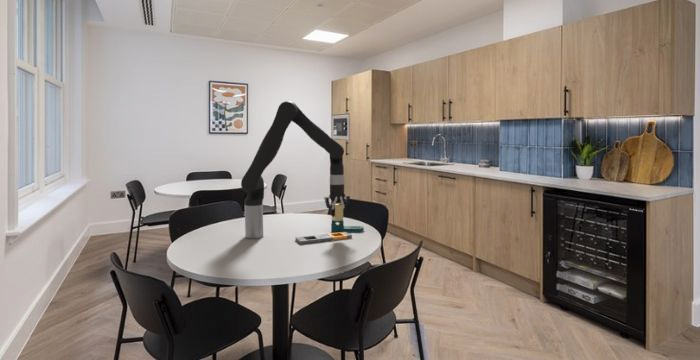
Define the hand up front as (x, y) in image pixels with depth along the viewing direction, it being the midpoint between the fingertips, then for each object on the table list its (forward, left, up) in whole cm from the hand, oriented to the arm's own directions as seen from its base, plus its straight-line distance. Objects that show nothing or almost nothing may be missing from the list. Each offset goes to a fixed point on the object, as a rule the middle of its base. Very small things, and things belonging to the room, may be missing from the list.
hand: (337, 215), depth 204 cm
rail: (0, -8, -12) cm, 14 cm away
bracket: (-11, +11, -12) cm, 20 cm away
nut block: (0, 0, -2) cm, 2 cm away
